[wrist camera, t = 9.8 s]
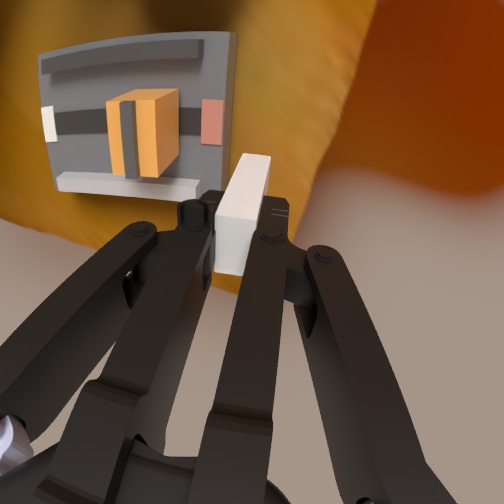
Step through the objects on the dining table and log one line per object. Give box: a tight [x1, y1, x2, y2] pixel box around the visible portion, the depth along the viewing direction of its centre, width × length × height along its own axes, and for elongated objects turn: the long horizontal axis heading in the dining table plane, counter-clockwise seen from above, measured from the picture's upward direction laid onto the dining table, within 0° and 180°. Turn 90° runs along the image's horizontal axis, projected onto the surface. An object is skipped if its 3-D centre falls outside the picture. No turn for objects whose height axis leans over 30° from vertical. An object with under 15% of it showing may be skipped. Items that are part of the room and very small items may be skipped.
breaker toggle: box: [106, 89, 179, 180], centre depth 22 cm, size 4×6×6 cm, turn 175°
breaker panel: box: [38, 31, 238, 202], centre depth 26 cm, size 20×16×6 cm
